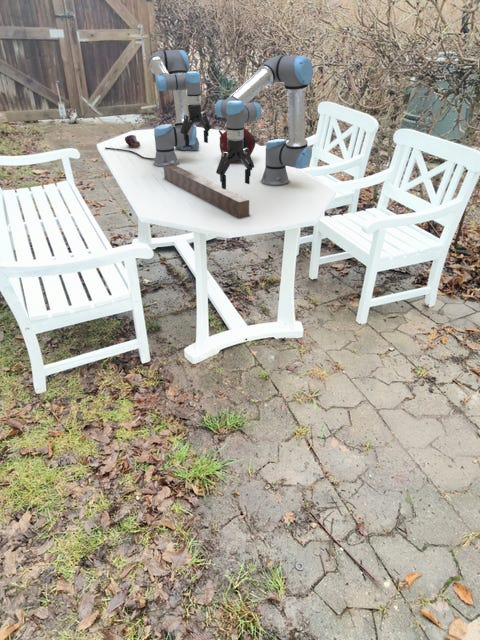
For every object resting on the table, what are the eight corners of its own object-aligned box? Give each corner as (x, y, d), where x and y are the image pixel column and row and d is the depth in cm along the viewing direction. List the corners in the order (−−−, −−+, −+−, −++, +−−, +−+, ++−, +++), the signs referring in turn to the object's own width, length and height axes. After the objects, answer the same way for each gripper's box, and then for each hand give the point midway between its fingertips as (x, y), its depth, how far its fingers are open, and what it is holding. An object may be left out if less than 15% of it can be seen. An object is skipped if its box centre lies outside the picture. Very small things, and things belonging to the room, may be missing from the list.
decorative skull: (216, 133, 304) (216, 130, 280) (250, 125, 303) (253, 121, 280) (223, 165, 311) (223, 165, 287) (256, 157, 310) (259, 157, 286)
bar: (164, 178, 268) (163, 165, 263) (173, 177, 271) (171, 163, 266) (239, 218, 216) (239, 202, 211) (249, 215, 218) (249, 199, 214)
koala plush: (199, 151, 320) (197, 121, 309) (174, 151, 319) (171, 122, 308) (199, 145, 334) (197, 116, 323) (175, 145, 333) (172, 117, 322)
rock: (137, 146, 338) (124, 147, 334) (135, 134, 334) (122, 135, 330) (142, 146, 329) (128, 148, 324) (140, 134, 325) (126, 135, 321)
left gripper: (180, 107, 237) (183, 149, 249) (216, 102, 250) (217, 141, 263) (171, 106, 241) (175, 147, 253) (207, 100, 255) (209, 139, 267)
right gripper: (216, 144, 193) (218, 193, 205) (262, 136, 205) (261, 183, 217) (207, 141, 199) (209, 188, 210) (252, 134, 210) (251, 179, 222)
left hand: (196, 144), depth 258 cm, fingers open, 13 cm apart
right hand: (235, 186), depth 214 cm, fingers open, 13 cm apart
